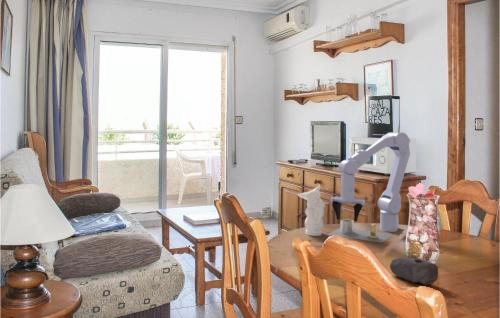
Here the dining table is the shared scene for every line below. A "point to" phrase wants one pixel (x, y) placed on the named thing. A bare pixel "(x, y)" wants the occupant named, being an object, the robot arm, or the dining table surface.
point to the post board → (364, 234)
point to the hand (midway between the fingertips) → (346, 220)
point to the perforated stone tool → (415, 270)
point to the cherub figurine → (313, 211)
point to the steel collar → (346, 226)
